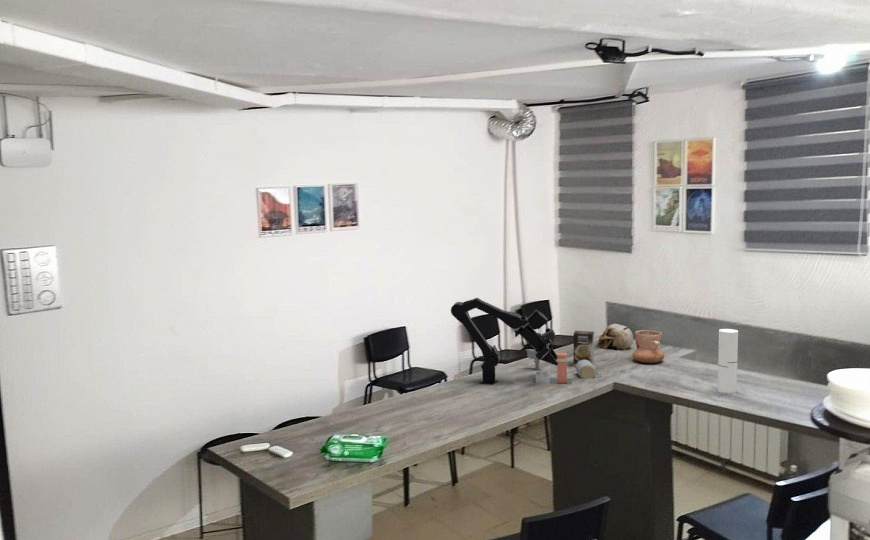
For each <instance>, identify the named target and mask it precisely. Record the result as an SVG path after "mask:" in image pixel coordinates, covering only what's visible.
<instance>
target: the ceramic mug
mask: <svg viewBox="0 0 870 540" xmlns="http://www.w3.org/2000/svg"><path fill="white" fill-rule="evenodd" d="M575 371H576V374H578V375H577V376H579V377H580V378H581V379H594V378H601V377H602V376H603V375H602V374H601V373H599V372H598V371H596V369H595V366H594V365H592V363H591V362H590V361H588V360H581V361H579V362H578V363H577V365H576V367H575Z"/></svg>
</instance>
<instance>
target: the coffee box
mask: <svg viewBox="0 0 870 540" xmlns="http://www.w3.org/2000/svg"><path fill="white" fill-rule="evenodd" d="M594 345H595V331H589V330H588V331H587V330H586V331H585V330H574V332H573V363H572V364H573V365H572V367H575V368H576V365H577V363H578V362H579V361H581V360H588V361H590V362H591V363H592V365H593V366H595V363H594V361H595V360H594V359H595V358H594V357H595V355H594V354H595V346H594Z"/></svg>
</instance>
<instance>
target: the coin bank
mask: <svg viewBox="0 0 870 540" xmlns="http://www.w3.org/2000/svg"><path fill="white" fill-rule="evenodd" d="M633 343H634V335H633V332H632V331H631V329H630V328H629V327H628V326H626V325H622V324H619V323H611V324H610V325H608V326H607V327H606V328H605V330H603V333H602V334H601V335H600V336H599V338H598V342H596V344H595V345H596V347H597V348H601V349H605V350H606V349H614V350H615V349H616V350H619V351H621V350H622V351H624V350H623V349H626V350H627V348H628V349H629V348H630V347H631V346H632V345H633Z"/></svg>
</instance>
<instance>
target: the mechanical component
mask: <svg viewBox="0 0 870 540" xmlns="http://www.w3.org/2000/svg"><path fill="white" fill-rule="evenodd" d="M525 352H526V354H527V355H526V356H527V358H528V359H530V360H531V359H532V360H533V362H534V366H535V367H534V369H535V370H537V371H539V365H540V363H541V362H540V361H541V360H539V359H538V358H537V357H536V351H535V349H534V348H529V349H526V351H525Z"/></svg>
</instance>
